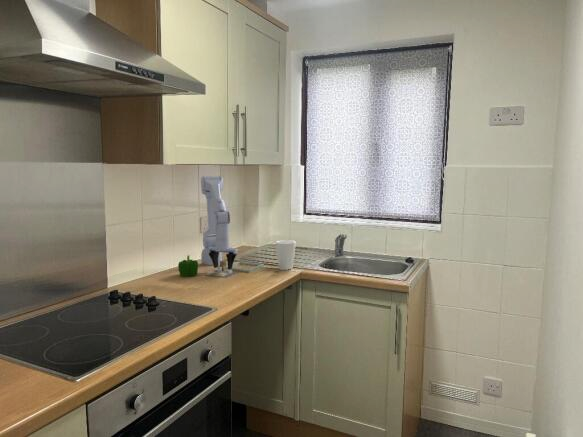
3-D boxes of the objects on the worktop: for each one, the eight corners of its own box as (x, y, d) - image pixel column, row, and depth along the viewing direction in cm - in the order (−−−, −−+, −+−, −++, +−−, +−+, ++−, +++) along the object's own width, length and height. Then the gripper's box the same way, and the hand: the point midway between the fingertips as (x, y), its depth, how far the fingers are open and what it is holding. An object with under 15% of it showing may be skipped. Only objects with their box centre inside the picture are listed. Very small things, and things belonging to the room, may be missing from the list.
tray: (223, 272, 206) (223, 267, 206) (239, 266, 219) (239, 261, 218) (249, 275, 201) (249, 270, 200) (263, 269, 213) (263, 263, 213)
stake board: (204, 278, 196) (204, 268, 195) (218, 273, 206) (218, 263, 205) (226, 281, 191) (225, 271, 191) (239, 275, 201) (239, 265, 200)
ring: (206, 274, 196) (206, 263, 195) (217, 270, 203) (216, 259, 203) (222, 276, 193) (222, 264, 192) (232, 272, 200) (231, 261, 199)
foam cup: (287, 271, 207) (287, 244, 206) (272, 269, 213) (271, 242, 211) (299, 268, 215) (299, 241, 213) (284, 265, 220) (284, 239, 219)
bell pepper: (193, 281, 191) (193, 258, 190) (176, 280, 193) (175, 257, 192) (201, 276, 199) (201, 254, 198) (184, 275, 201) (183, 254, 200)
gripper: (203, 238, 198) (204, 268, 200) (231, 240, 192) (232, 271, 194) (212, 236, 204) (213, 265, 206) (239, 238, 198) (240, 268, 200)
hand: (223, 268), depth 200 cm, fingers open, 7 cm apart
